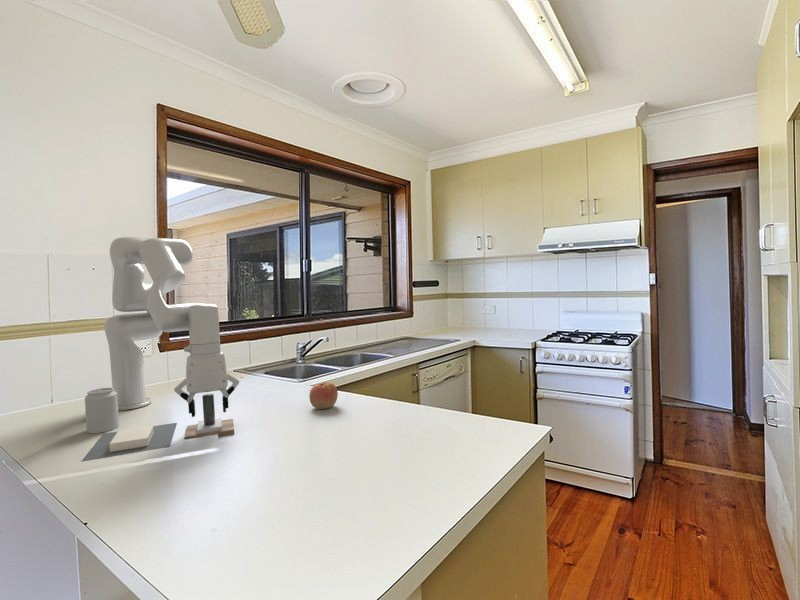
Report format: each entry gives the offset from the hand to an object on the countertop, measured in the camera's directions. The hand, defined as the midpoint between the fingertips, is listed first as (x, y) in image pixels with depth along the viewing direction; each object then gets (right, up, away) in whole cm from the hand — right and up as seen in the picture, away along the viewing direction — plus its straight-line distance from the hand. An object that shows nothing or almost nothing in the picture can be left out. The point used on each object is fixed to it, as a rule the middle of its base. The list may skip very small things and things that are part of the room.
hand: (209, 412), depth 115 cm
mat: (-17, -6, -6) cm, 19 cm away
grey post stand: (0, -4, 0) cm, 4 cm away
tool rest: (0, -5, 0) cm, 5 cm away
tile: (-18, -4, -3) cm, 19 cm away
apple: (+28, -4, +19) cm, 34 cm away
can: (-32, -7, +4) cm, 33 cm away
